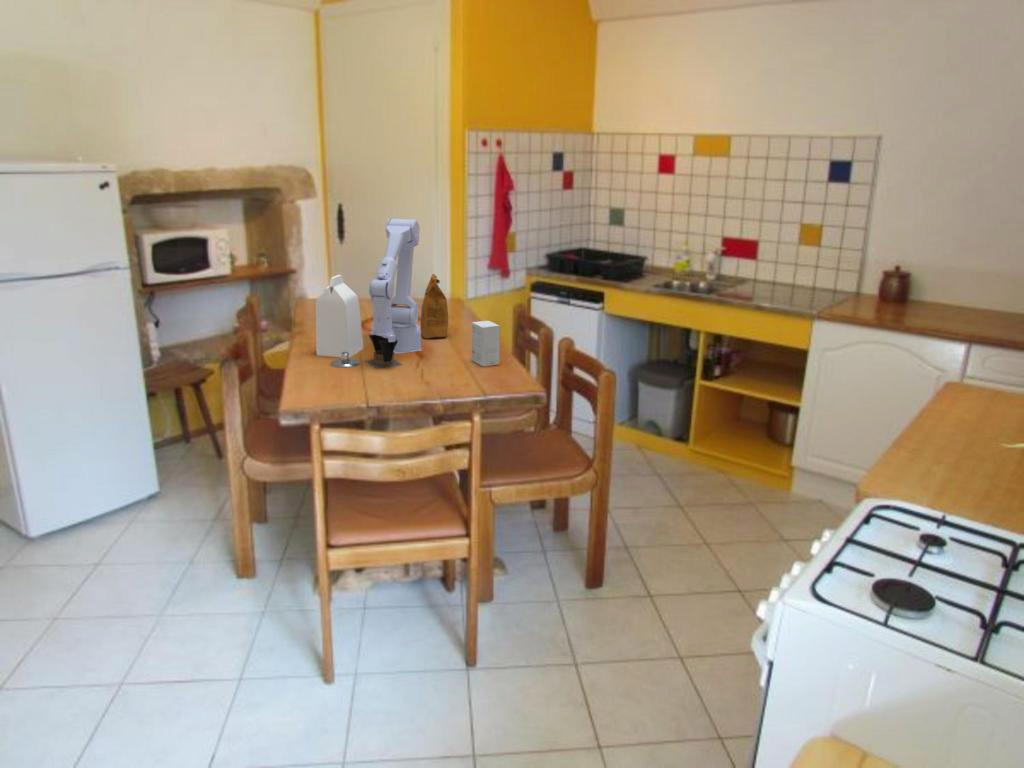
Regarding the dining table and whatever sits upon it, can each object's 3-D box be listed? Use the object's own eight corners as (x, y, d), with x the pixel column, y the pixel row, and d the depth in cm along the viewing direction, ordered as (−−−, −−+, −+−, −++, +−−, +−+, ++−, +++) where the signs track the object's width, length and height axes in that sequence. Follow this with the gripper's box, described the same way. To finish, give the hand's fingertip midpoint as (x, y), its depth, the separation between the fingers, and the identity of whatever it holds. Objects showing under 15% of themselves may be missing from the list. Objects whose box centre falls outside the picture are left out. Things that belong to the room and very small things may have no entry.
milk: (349, 359, 244) (345, 280, 236) (316, 356, 246) (311, 278, 238) (363, 350, 255) (360, 274, 247) (332, 347, 257) (327, 272, 249)
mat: (391, 359, 245) (391, 357, 245) (402, 366, 238) (402, 364, 238) (365, 363, 241) (365, 361, 240) (376, 370, 234) (376, 368, 233)
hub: (353, 360, 244) (353, 347, 242) (364, 367, 236) (363, 354, 235) (327, 363, 239) (326, 351, 238) (336, 371, 232) (336, 358, 231)
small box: (499, 364, 243) (500, 325, 238) (482, 367, 240) (482, 327, 235) (488, 358, 249) (488, 320, 245) (471, 360, 246) (471, 321, 242)
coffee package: (446, 330, 283) (446, 272, 276) (449, 339, 271) (448, 279, 264) (420, 331, 281) (419, 273, 274) (421, 339, 270) (420, 279, 263)
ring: (388, 359, 243) (388, 349, 242) (396, 364, 238) (395, 353, 237) (372, 361, 240) (371, 351, 239) (379, 366, 235) (378, 355, 234)
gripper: (361, 313, 238) (363, 354, 243) (379, 323, 227) (381, 366, 231) (382, 311, 242) (383, 351, 246) (401, 321, 230) (402, 363, 235)
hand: (383, 358), depth 239 cm, fingers closed on ring, 6 cm apart
